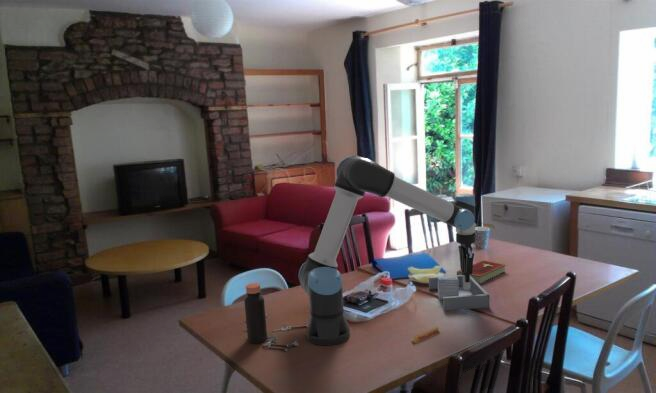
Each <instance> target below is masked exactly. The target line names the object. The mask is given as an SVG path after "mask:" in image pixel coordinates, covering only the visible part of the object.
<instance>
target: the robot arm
mask: <svg viewBox="0 0 656 393" xmlns="http://www.w3.org/2000/svg"><path fill="white" fill-rule="evenodd" d="M333 187H334V189H335V195H334V198H333V200H332V202H331V206H330V208H329V211H328V213H327V217H326V219H325V221H324V225H323V227H322V230H321V231H320V232H321V233H320V235H319V238H318V241H317V244H316V245H315V249H314V251H313V252H311V253H309V254H308V256H307V258H306V261H305V262H304V263H302V265H301V266H300V268H299V271H298V280H299V284H300V286H301V288H302V289H303V290H304V291H305V293H306V294H307V296H308V299H309V312H310V316H309V320H308V325H307V329H306V338H307V340H308V341H309V342H310V343H311V344H315V345H318V346H333V345H338V344H341V343H343V342H345V341H347V340H348V339H349V338H350V336H351V332H350V331H351V330H350V326H349V323H348V320H347V318H346V316H345V314H344V313H345V312H344V296H343V294H344V293H343V279H342V273H341V272H340V271H339V270H338V262H337V257H338V255H339V253H340V249H341V247H342V244H343V241H344V238H345V236H346V233H347V230H348V227H349V225H350V222H351V220H352V217H353V215H354V212H355V210H356V206H357V203H358V201H359V200H361V199H362V198H364V196H365V194H366V193H369V194H371V195H375V196H378V197H380V198H385V197H386V198H387V197H388V198H390V199H391V200H394V201H396V202H399V203H401V204H403V205H405V206H407V207H408V208H409V207H410V208H411V209H413V210H416V211H418V212H420V213H423V214H425V215H426V218H427V219H428V221H429V222H430V223H443V224H446V225H449V226H451V227H453V228H455V232H456V234H455V241H456V243H458V244H460V245H458V247H457V248H458V251H459V264H460V270H462V275H463V287H462V290H466V291H467V290H470V274H472V270H473V264H474V257H475V253H474V252H473V247H472V244H475V243H476V241H477V240H476V236H477V235H476V226H477V223H476V199H475V195H473V194H470V193H459V194H456V195H455V198H454V200H451V201H450V200H449V201H448V200H446V199H444V198H442V197H441V196H438V195H435V194H433V193H432V192H429V191H427V190H425V189H423V188H420V187H418V186H416V185H415V184H411V182H407V181H406V180H403V178H402V179H401V178H400V177H398V176H396V174H395V172H394V171H391V170H389V169H387V168H386V167H384V166H382V165H381V164H379V163H377V162H376V161H374V160H372V159H370V158H366V157H362V156H359V155H349V156H347V157H345V158H343V159H342V160H340V162H339V163H338V164H337V168H336V180H335V183H334V185H333Z"/></svg>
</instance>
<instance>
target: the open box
mask: <svg viewBox="0 0 656 393" xmlns="http://www.w3.org/2000/svg"><path fill="white" fill-rule="evenodd" d="M442 276H443V275H442ZM442 276H440V277H442ZM455 276H457V278H458V280H459V288H463V275H457V274H456V275H455ZM438 277H439V276H433V277H432V276H431V277H430V276H429V277H428V289H429V290H438ZM469 290H470V292H471V293H473V294H469V295H468V294H467V295H459V296H451V297H443V300H442V309H443V311H457V310H459V311H460V310H472V309H486V308H490V293H489V292H487V291H486V290H485V289H484V288H483V287H482V286H481V285H480V284H479V283H477V282H476V281H475V280H474V279H473V278H472V277H471V276H470V289H469Z"/></svg>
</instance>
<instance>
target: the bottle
mask: <svg viewBox="0 0 656 393" xmlns="http://www.w3.org/2000/svg"><path fill="white" fill-rule="evenodd" d="M245 293H246V298H244V311H245V322H246V323H245V324H246V334H247V341H248V342H249V343H250V344H260V343H264V342H265V341H266V340H267V339H268V332H267V331H268V330H267V319H266V308H265V306H266V304H265V298H264V296H263V295H261V284H260V283H257V282H253V283H247V284H246V286H245Z"/></svg>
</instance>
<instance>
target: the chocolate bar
mask: <svg viewBox="0 0 656 393" xmlns="http://www.w3.org/2000/svg"><path fill="white" fill-rule="evenodd" d="M440 332H441V331H440V330H439V327H438V326H436V327H433V328H432V329H429V330H427V331H425V332H423V333H420V334H418V335H416V336H413V337H412V339H411V341H410V342H411V343H414V344H419V343H420V342H422V341H424V340H426V339H429V338H431V337H434V336H436V335H437V334H440Z"/></svg>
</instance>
